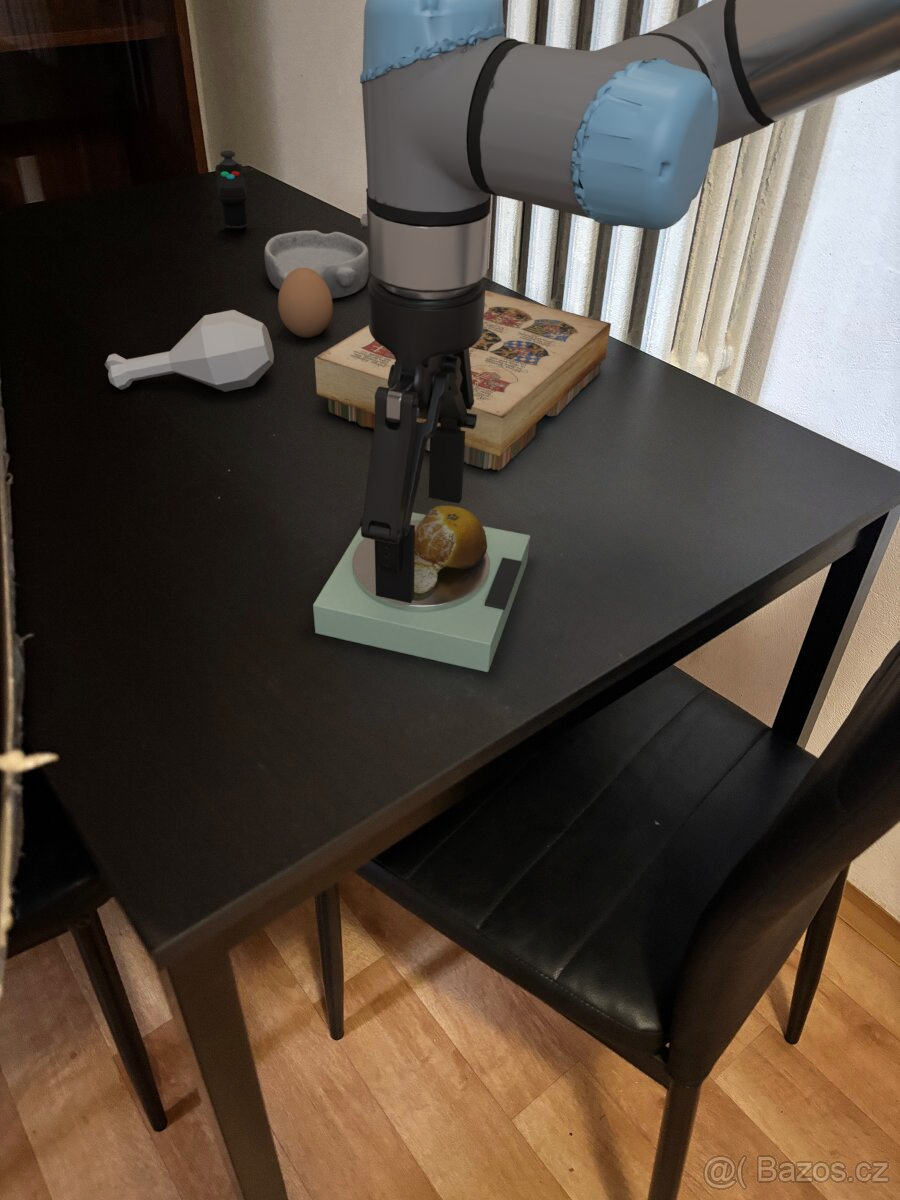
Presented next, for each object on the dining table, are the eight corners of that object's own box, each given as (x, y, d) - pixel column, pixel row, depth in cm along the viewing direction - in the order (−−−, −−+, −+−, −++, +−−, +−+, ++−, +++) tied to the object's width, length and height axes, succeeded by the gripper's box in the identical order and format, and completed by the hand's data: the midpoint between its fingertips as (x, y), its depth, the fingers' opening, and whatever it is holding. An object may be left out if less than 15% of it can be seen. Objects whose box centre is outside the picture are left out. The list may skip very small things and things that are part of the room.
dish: (366, 305, 118) (365, 267, 115) (259, 301, 118) (255, 263, 114) (373, 263, 129) (372, 227, 126) (275, 260, 129) (272, 223, 125)
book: (431, 318, 116) (296, 405, 98) (432, 268, 112) (292, 350, 94) (608, 369, 108) (497, 476, 89) (617, 317, 103) (503, 418, 85)
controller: (249, 215, 142) (241, 146, 135) (253, 244, 133) (245, 171, 126) (220, 216, 141) (212, 147, 135) (223, 245, 132) (214, 172, 126)
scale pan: (503, 540, 76) (504, 534, 76) (469, 624, 68) (470, 618, 68) (379, 515, 78) (379, 509, 78) (332, 594, 70) (331, 588, 70)
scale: (528, 562, 79) (531, 532, 77) (489, 673, 68) (492, 642, 66) (374, 531, 81) (373, 502, 79) (314, 633, 71) (312, 602, 69)
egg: (345, 333, 112) (342, 267, 106) (310, 352, 107) (306, 284, 102) (304, 320, 114) (299, 254, 109) (269, 337, 110) (262, 270, 105)
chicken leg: (124, 369, 104) (89, 319, 97) (277, 339, 103) (254, 287, 96) (123, 428, 101) (87, 381, 93) (281, 398, 100) (258, 348, 92)
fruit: (369, 538, 74) (368, 501, 72) (461, 516, 77) (463, 480, 75) (407, 600, 69) (408, 562, 66) (505, 574, 72) (509, 537, 69)
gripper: (427, 208, 67) (422, 455, 81) (294, 349, 49) (317, 636, 63) (526, 221, 66) (504, 471, 80) (426, 371, 48) (420, 659, 62)
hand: (421, 544), depth 72 cm, fingers open, 13 cm apart
